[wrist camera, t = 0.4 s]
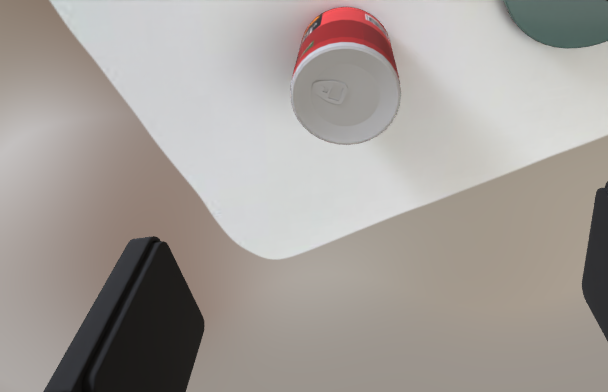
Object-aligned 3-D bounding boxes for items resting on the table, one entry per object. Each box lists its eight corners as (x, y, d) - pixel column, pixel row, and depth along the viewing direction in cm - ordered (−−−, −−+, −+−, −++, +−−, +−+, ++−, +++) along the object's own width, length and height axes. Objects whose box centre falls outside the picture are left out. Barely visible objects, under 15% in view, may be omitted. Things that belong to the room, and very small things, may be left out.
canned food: (302, 2, 41) (289, 42, 32) (395, 6, 41) (409, 47, 32) (300, 87, 45) (289, 143, 36) (385, 91, 45) (394, 148, 36)
